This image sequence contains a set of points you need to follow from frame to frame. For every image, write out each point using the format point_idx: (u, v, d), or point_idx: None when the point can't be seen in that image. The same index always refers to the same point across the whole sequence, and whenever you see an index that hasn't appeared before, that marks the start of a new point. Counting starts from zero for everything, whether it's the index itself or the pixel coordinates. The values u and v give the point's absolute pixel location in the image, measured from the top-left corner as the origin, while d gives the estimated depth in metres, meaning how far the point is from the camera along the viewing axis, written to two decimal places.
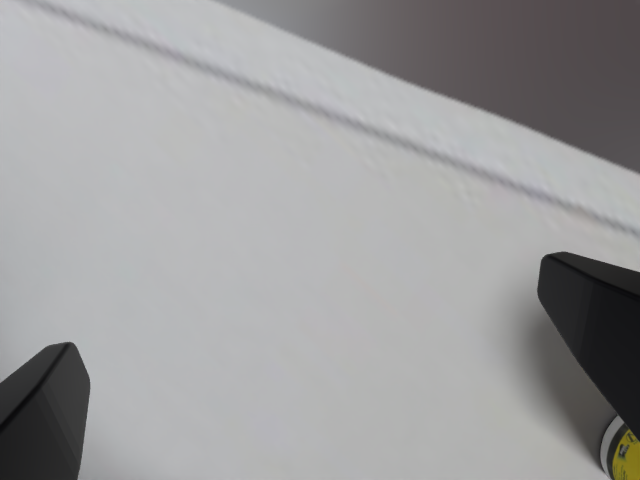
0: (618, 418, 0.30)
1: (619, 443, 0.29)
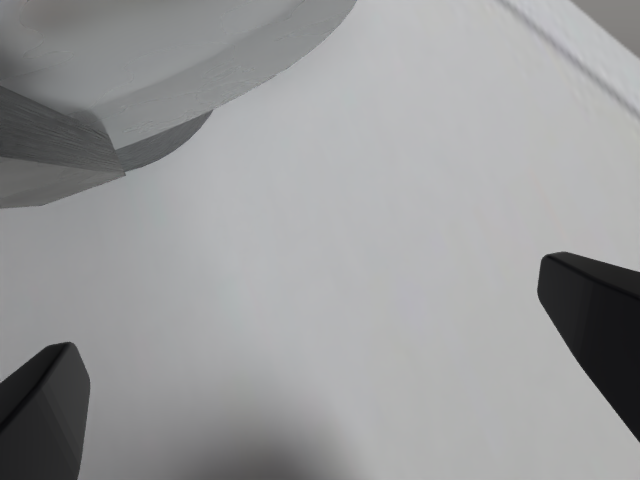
0: None
1: None
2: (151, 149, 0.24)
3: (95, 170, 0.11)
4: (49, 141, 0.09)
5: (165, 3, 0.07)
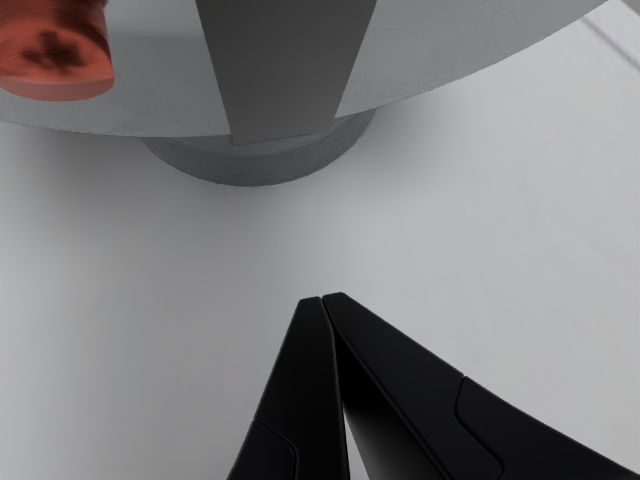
0: None
1: None
2: (292, 165, 0.23)
3: (347, 78, 0.09)
4: None
5: None
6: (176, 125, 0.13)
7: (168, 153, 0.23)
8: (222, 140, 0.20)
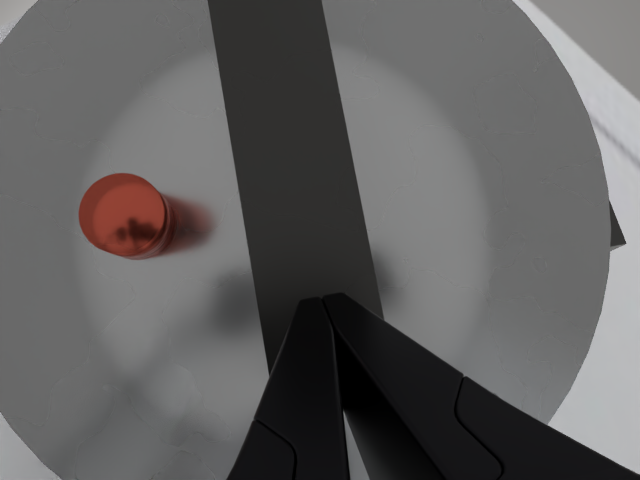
0: None
1: None
2: None
3: (368, 244, 0.10)
4: None
5: (432, 50, 0.12)
6: None
7: None
8: None
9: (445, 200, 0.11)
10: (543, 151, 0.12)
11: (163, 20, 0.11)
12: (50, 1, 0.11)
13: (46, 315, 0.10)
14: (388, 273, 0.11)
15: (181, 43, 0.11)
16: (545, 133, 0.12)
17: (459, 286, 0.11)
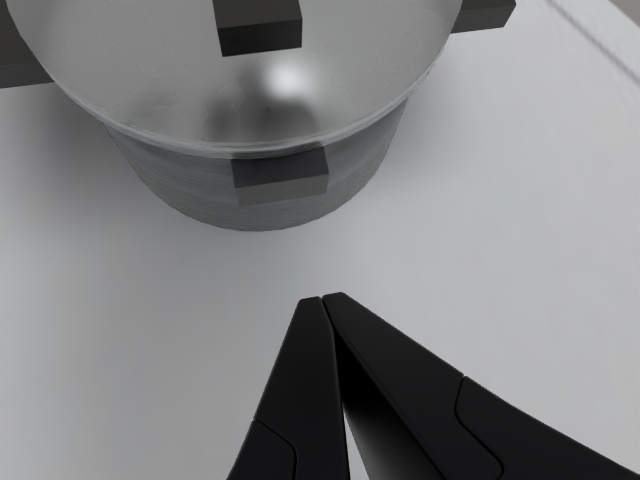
0: None
1: None
2: (302, 212, 0.21)
3: None
4: None
5: None
6: (176, 104, 0.14)
7: (171, 199, 0.22)
8: (230, 194, 0.19)
9: None
10: None
11: None
12: None
13: None
14: None
15: None
16: None
17: None
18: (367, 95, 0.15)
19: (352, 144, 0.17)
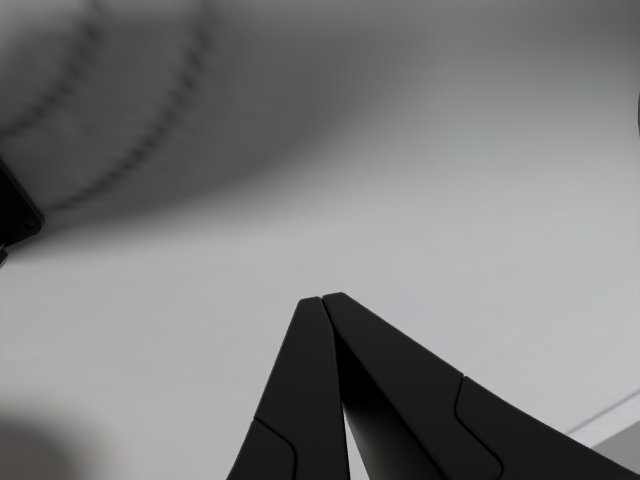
0: None
1: None
2: None
3: None
4: None
5: None
6: None
7: None
8: None
9: None
10: None
11: None
12: None
13: None
14: None
15: None
16: None
17: None
18: None
19: None
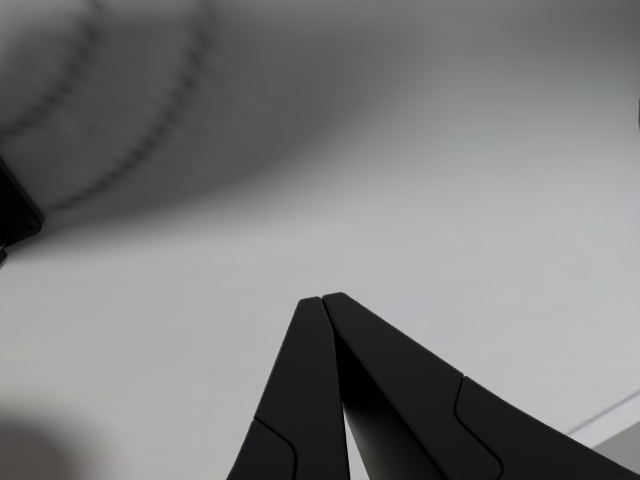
0: None
1: None
2: None
3: None
4: None
5: None
6: None
7: None
8: None
9: None
10: None
11: None
12: None
13: None
14: None
15: None
16: None
17: None
18: None
19: None
